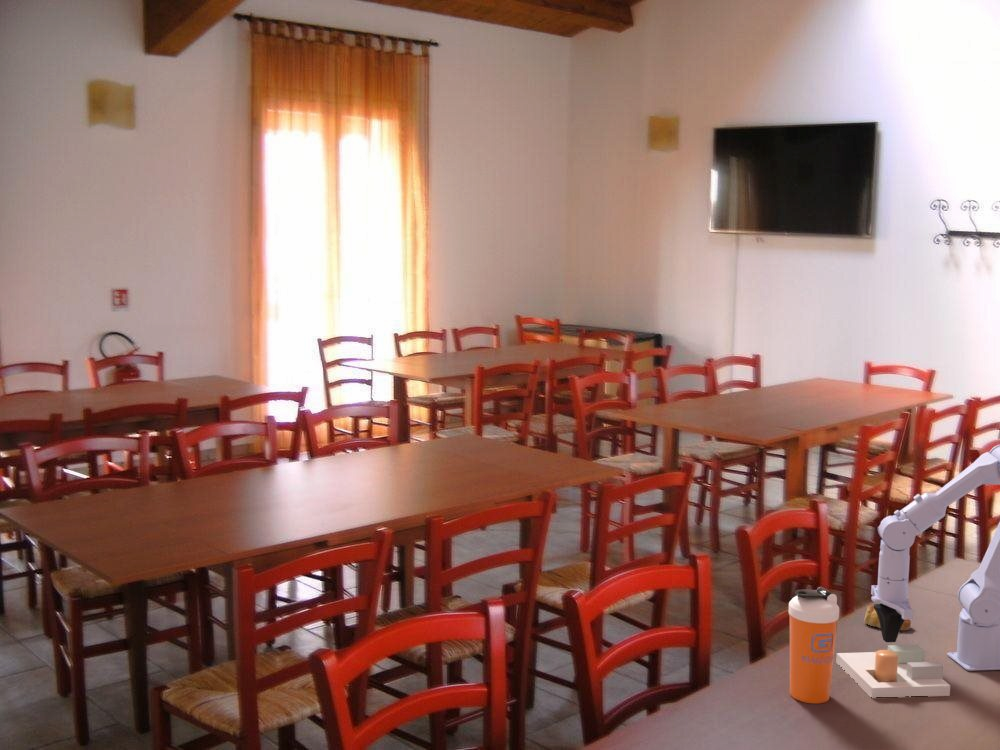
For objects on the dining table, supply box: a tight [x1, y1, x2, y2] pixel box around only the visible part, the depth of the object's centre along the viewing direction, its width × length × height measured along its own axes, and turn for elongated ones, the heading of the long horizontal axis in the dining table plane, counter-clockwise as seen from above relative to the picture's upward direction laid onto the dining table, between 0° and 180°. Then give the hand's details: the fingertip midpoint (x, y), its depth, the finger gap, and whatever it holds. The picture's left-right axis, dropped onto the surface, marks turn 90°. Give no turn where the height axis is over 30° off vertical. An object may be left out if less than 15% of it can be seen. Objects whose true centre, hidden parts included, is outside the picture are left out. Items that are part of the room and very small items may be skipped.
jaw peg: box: [874, 649, 898, 683], centre depth 195 cm, size 4×4×6 cm
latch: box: [887, 644, 926, 664], centre depth 202 cm, size 6×3×2 cm, turn 95°
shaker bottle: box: [787, 586, 840, 705], centre depth 190 cm, size 9×9×20 cm
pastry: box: [863, 605, 912, 631], centre depth 226 cm, size 9×7×4 cm
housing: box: [835, 651, 951, 699], centre depth 198 cm, size 15×16×4 cm
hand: (889, 640), depth 209 cm, fingers closed
